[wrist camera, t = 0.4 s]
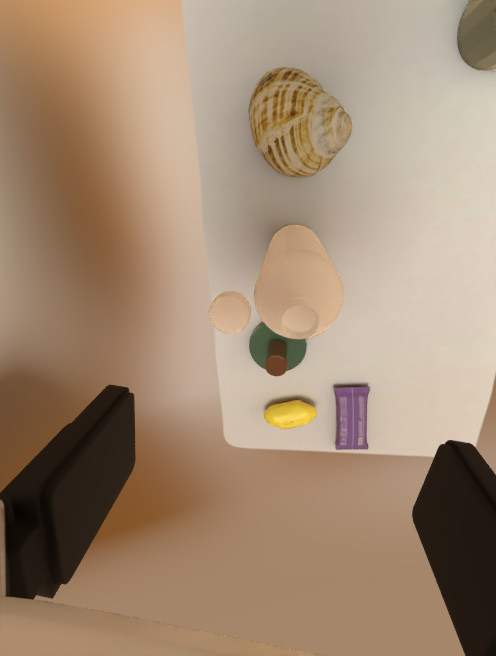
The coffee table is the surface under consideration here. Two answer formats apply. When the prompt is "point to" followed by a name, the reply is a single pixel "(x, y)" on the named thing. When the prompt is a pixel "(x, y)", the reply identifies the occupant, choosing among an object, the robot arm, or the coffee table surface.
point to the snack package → (351, 417)
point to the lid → (276, 350)
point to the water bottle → (287, 289)
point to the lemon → (290, 414)
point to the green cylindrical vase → (478, 34)
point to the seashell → (296, 122)
